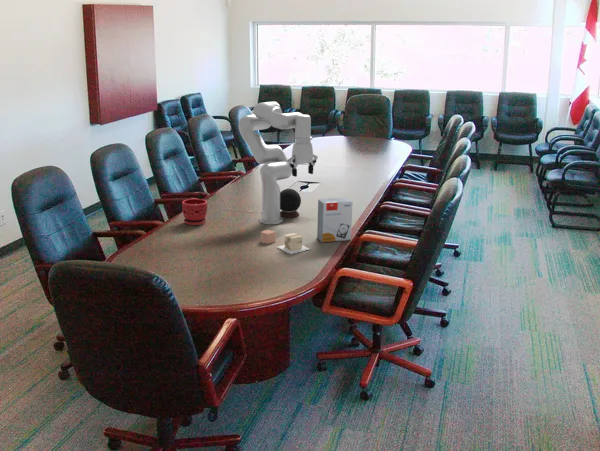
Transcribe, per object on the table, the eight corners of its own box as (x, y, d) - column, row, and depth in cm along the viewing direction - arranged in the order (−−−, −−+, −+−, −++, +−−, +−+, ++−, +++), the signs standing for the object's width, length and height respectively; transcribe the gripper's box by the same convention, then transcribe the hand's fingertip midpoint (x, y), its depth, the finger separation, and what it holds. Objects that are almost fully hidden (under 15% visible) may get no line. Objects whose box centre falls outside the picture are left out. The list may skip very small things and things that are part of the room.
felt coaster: (277, 247, 311) (277, 246, 311) (296, 243, 317) (296, 242, 317) (290, 254, 302) (290, 253, 302) (309, 250, 308) (309, 248, 308)
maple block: (284, 247, 310) (284, 235, 308) (295, 244, 313) (295, 232, 312) (291, 250, 305) (291, 238, 304) (302, 248, 309) (302, 236, 307)
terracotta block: (260, 241, 320) (260, 232, 318) (267, 239, 323) (267, 229, 322) (268, 244, 317) (268, 234, 315) (275, 241, 320) (275, 231, 319)
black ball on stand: (273, 213, 365) (273, 187, 361) (294, 210, 370) (295, 185, 366) (282, 220, 354) (282, 193, 349) (304, 217, 359) (305, 190, 354)
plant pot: (205, 226, 342) (205, 204, 338) (180, 226, 342) (179, 204, 338) (209, 219, 354) (208, 198, 350) (185, 219, 354) (184, 197, 351)
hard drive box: (321, 242, 318) (322, 203, 312) (316, 237, 325) (317, 199, 319) (351, 240, 322) (352, 201, 316) (346, 235, 329) (347, 197, 323)
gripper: (312, 137, 325) (312, 171, 331) (283, 141, 316) (283, 175, 321) (321, 139, 319) (321, 174, 325) (292, 143, 310) (292, 178, 315)
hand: (302, 174), depth 323 cm, fingers open, 9 cm apart
